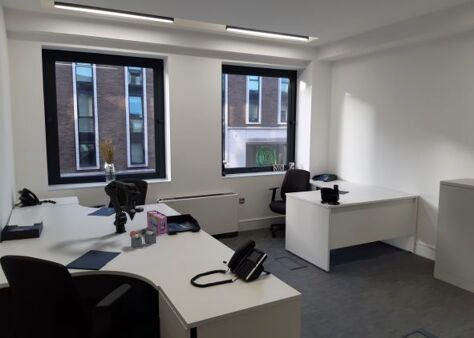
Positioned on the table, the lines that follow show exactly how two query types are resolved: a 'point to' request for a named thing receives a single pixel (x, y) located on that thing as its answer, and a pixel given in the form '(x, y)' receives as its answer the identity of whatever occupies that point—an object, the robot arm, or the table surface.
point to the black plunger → (146, 231)
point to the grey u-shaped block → (150, 238)
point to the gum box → (156, 222)
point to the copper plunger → (134, 234)
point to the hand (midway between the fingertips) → (131, 220)
